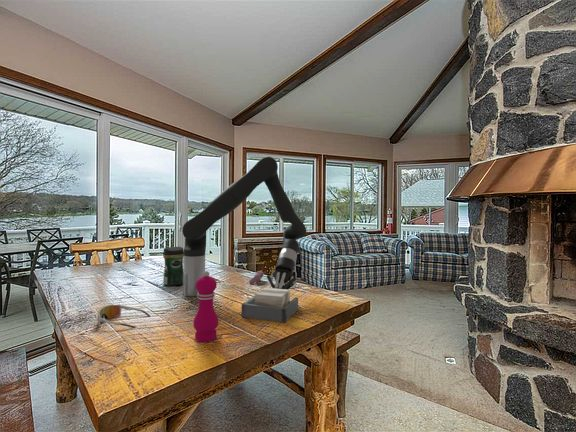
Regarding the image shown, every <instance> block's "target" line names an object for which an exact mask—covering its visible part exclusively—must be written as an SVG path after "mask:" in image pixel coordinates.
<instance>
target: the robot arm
mask: <svg viewBox="0 0 576 432" xmlns="http://www.w3.org/2000/svg"><path fill="white" fill-rule="evenodd" d="M278 167H279V166H278V163H277V161H276V159H274V157H271V156H264V157H261V158H260V159H259V160H258V161H257V162H256V163H255V164H254V165H253V167H251V168H250V169H249V171H247V172H246V173H245V174H244V175H242V176H241V177H240V178H238V179H237V180H236V181H234V182H233V183H231V184H230V185H229V186H228V187H226V188H225V189H224V190H223V191H222V192H221V193H220V194H218V196H216V197H215V198H214V199H213V200H212V201H211V202H210V203H209V204H208V205H206V207H205V208H204V209H203V210H202V211H201V212H199V213H198V214H195V216H194V217H192V218H191V219H189V220H186V222H185V223H183V226H182V230H181V231H182V235H183V237H184V240H185V241H184V247H183V251H184V257H183V284H182V294H183V296H184V297H198V295H197V294H198V293H199V292H198V291H197V289H196V282H197V280H198V279H199V278H201V277H203V273H204V272H205V271H206V250H207V249H206V248H207V232H208V230H209V229H210V228H211V227H212V226H213V225H214V224H216V222H218V221H220V220H221V219H222V218H225V217H226V216H227V215H229V214H230V213H232V212H233V211H234V210H236V209H237V208H238V207H239V206H240V205H241V204H242V203H243V202H245V200H247V199H248V198H249V196H251V194H252V192H253V191H255V189H256V188H257V187H259V185H261V184H262V183H264V184H265V185H266V187H267V190H268V191H269V194H270V196H271V199H272V201H273V204H274V207H275V208H276V211H277V214H278V215H279V218H280V220H281V221H282V222H283V223H286V222H289V223H290V225H289V226H286V227H285V228H284V230H283V233H282V235H283V236H282V238H283V239H282V246H281V250H280V253H279V255H278V259H277V260H276V261H277V262H276V265H275V268H274V271H273V272H272V274H270V275H269V274H268V275H266V278H267V281H268V283H269V284H270V288H276V289H287V290H290V289H291V288H292V287H293V286H294V285H296V284H298V283H297V282H298V281H297V278H296V277H295V276H294V275H293V274H294V270H295V267H296V264H297V258H298V257H297V256H298V253H299V249H300V244H299V242H298V241H297V240H300V239H303V238H304V237H306V235H307V228H306V225H305V224H304V222H303V221H302V220H301V219H300V217H299V216H298V215H297V213H296V212H295V209H294V207H293V205H292V203H291V201H290V198H289V196H288V195H287V194H286V191H285V189H284V187H283V185H282V184H281V181H280V178H279V174H278V169H279V168H278ZM273 281H275V284H274V282H273Z"/></svg>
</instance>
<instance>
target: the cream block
mask: <svg viewBox="0 0 576 432" xmlns="http://www.w3.org/2000/svg"><path fill="white" fill-rule="evenodd" d="M290 294H291V290H290V289H288V290H287V289H276V288H272V287H263V288H262V289H261V290H259V291H258V292H256V293H254V296H255V305H262V306H270V307H279V308H284V307H285V306H286V305H287V304H288V303H289V302H290V301H291V299H290V297H291V296H290Z"/></svg>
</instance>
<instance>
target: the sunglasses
mask: <svg viewBox="0 0 576 432" xmlns="http://www.w3.org/2000/svg"><path fill="white" fill-rule="evenodd" d="M122 309H124V310H134V311H137V312H141V313H142V314H143V313H144V314H145V315H146V316H147V317H150V318H151V317H152V316H151V315H150V314H149V312H147V311H145V310H144V309H141V308H136V307H131V306H126V305H121V304H114V303H113V304H112V303H111V304H106V305H104V306H102V307H100V308H99V309H98V310H97V317H96V318H97V319H96V320H97V326H98V328H101V327H102V325H101V324H102V323H103V324H104V323H106V324H107V323H108V324H111V325H114V326H115V325H116V326H123V327H127V328H132V329H134V328H137V326H136V325H132V324H127V323H124V322H123V323H122V322H115V321H111V320H108V319H110V318H113V317H117V316H121V315H122V314H121V313H122Z"/></svg>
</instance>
